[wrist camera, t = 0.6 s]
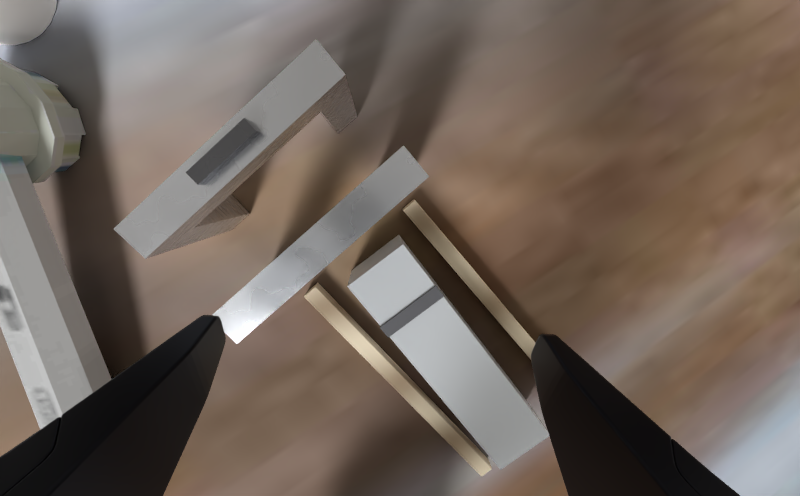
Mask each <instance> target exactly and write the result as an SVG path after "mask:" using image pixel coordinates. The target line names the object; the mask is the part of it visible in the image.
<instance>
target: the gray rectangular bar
mask: <svg viewBox="0 0 800 496" xmlns="http://www.w3.org/2000/svg"><path fill="white" fill-rule="evenodd" d="M347 287H348V288H349V289H350V290H351V291H352V293H353V294H354V295H355V296H356V297H357V299H358V300H359V301H360V302H361V303H362V305H363V306H364V307H365V308H366V309H367V311H368V312H369V313H370V314H371V315H372V317H373V318H374V319H375V320H376V321H377V323H378V324H379V325H380V328H381V330H382V331H383V332H384V333H385V334H386V336H387V337H388V338H389V337H390V338H391V339H392V340H393V342H394V343H395V344H396V345H397V346H398V348H399V349H400V350H401V351H402V352H403V354H404V355H405V356H406V357H407V358H408V360H409V361H410V362H411V363H412V364H413V366H414V367H415V368H416V369H417V370H418V372H419V373H420V374H421V375H422V376H423V378H424V379H425V380H426V381H427V382H428V384H429V385H430V386H431V387H432V388H433V390H434V391H435V392H436V393H437V394H438V396H439V397H440V398H441V399H442V400H443V402H444V403H445V404H446V405H447V406H448V408H449V409H450V410H451V411H452V412H453V414H454V415H455V416H456V417H457V418H458V420H459V421H460V422H461V423H462V424H463V425H464V427H465V428H466V429H467V430H468V431H469V433H470V434H471V435H472V436H473V437H474V439H475V440H476V441H477V442H478V443H479V445H480V446H481V447H482V448H483V449H484V451H485V452H486V453H487V454H488V455H489V457H490V458H491V459H492V460H493V461H494V463H495V464H496V465H497V466H498V467H499V469H500V470H501V469H502V468H504V467H505V466H507V465H508V464H510V463H511V462H512V461H514V460H515V459H517V458H518V457H520V456H521V455H523V454H524V453H525V452H527V451H528V450H530V449H531V448H533V447H534V446H536V445H537V444H538V443H540V442H541V441H543V440H544V439H546V438H547V437H548V436H549V433H548V431H547V429H546V428H545V427H544V425H543V424H542V422H541V421H540V419H539V418H538V416H537V415H536V414H535V412H534V411H533V409H532V408H531V406H530V405H529V403H528V402H527V400H526V399H525V398H524V397H523V395H522V394H521V393H520V391H519V390H518V389H517V387H516V386H515V385H514V384H513V382H512V381H511V380H510V378H509V377H508V376H507V374H506V373H505V372H504V371H503V369H502V368H501V367H500V365H499V364H498V363H497V361H496V360H495V359H494V358H493V356H492V355H491V354H490V352H489V351H488V350H487V348H486V347H485V346H484V345H483V343H482V342H481V341H480V339H479V338H478V337H477V335H476V334H475V333H474V332H473V330H472V329H471V328H470V326H469V325H468V324H467V322H466V321H465V320H464V319H463V317H462V316H461V315H460V313H459V312H458V311H457V309H456V308H455V307H454V306H453V304H452V303H451V302H450V300H449V299H448V298H447V296H446V295H445V294H444V292H443V291H442V290H441V289H440V287H439V286H438V285H437V283H436V282H435V281H434V279H433V278H432V277H431V276H430V274H429V273H428V272H427V270H426V269H425V268H424V266H423V265H422V264H421V263H420V261H419V260H418V259H417V257H416V256H415V255H414V253H413V252H412V251H411V250H410V248H409V247H408V246H407V244H406V243H405V242H404V240H403V239H402V238H401V237H400V235H397V236H396V237H395V238H394V239H392V240H391V241H390V242H388V243H387V244H386V245H384V246H383V247H382V248H380V249H379V250H378V251H376V252H375V253H374V254H373V255H371V256H370V257H369V258H367V259H366V260H365V261H363V262H362V263H361V264H359V265H358V266H357V267H355V268H354V269H353V270H352V271H351V275H350V279H349V282H348V286H347Z"/></svg>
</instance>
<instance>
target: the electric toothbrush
mask: <svg viewBox="0 0 800 496" xmlns="http://www.w3.org/2000/svg"><path fill="white" fill-rule="evenodd" d="M58 86H59V85H57V84H55V83H53V82H52V81H50V80H48V79H46V78H44V77H42V76H41V75H39V74H37V73H35V72H31V71H25V70H21V69H19V68H17V67H15V66H13V65H12V64H10V63H8V62H6V61H4V60H2V59H1V58H0V326H1V329H2V332H3V334H4V337H5V339H6V342H7V344H8V347H9V350H10V352H11V355H12V357H13V360H14V363H15V365H16V368H17V370H18V373H19V375H20V378H21V381H22V383H23V386H24V388H25V391H26V393H27V396H28V399H29V401H30V404H31V406H32V409H33V412H34V414H35V417H36V419H37V422H38V424H39V427H40V430H41V429H42V428H43V427H45V426H46V425H48V424H49V423H50V422H52V421H53V420H55V419H56V418H58V417H61V416H62V414H63V413H65V412H66V411H68V410H69V409H70V408H72V407H73V406H75V405H76V404H77V403H79V402H80V401H82V400H83V399H85V398H86V397H87V396H89V395H90V394H92V393H93V392H94V391H96V390H97V389H99V388H100V387H102V386H103V385H104V384H106V383H107V382H109V381H110V380H111V377H110V374H109V372H108V369H107V367H106V364H105V362H104V359H103V357H102V354H101V352H100V349H99V347H98V344H97V342H96V339H95V337H94V334H93V332H92V329H91V327H90V324H89V322H88V320H87V317H86V315H85V312H84V310H83V307H82V305H81V302H80V300H79V297H78V295H77V292H76V290H75V287H74V285H73V282H72V280H71V277H70V275H69V272H68V270H67V268H66V265H65V263H64V260H63V258H62V255H61V253H60V250H59V248H58V245H57V243H56V240H55V238H54V235H53V233H52V230H51V228H50V225H49V223H48V220H47V218H46V216H45V213H44V211H43V208H42V206H41V203H40V201H39V198H38V196H37V193H36V191H35V188H34V186H33V183H38V182H44V181H45V180H46V179H47V178H48V177H49V176H51V175H52V174H53V173H54V172H60V171H65V170H67V169H68V168H69V167H70V166H71V165H72V164H73V163H75V162H76V161H77V160H78V159H79V158H80V156H79V150H80V143H81V136H82V135H86V133H85V130H84V127H83V124H82V121H81V118H80V114H79V111H78V109H75V108H72V107H71V105H70V104H69V103H68V102H67V100H66V99H65V98H64V97H63V95H62V94H61V93H60V92H59V91H58V89H57V88H58Z"/></svg>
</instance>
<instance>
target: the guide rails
mask: <svg viewBox="0 0 800 496" xmlns="http://www.w3.org/2000/svg"><path fill="white" fill-rule="evenodd" d="M402 210H403V211H404V212H405V213H406V215H407V216H408V217H409V218H410V219H411V220H412V222H413V223H414V224H415V225H416V226H417V227H418V229H419V230H420V231H421V232H422V233H423V234H424V236H425V237H426V238H427V239H428V240H429V241H430V243H431V244H432V245H433V246H434V247H435V248H436V250H437V251H438V252H439V253H440V254H441V255H442V257H443V258H444V259H445V260H446V261H447V262H448V264H449V265H450V266H451V267H452V268H453V269H454V271H455V272H456V273H457V274H458V275H459V276H460V278H461V279H462V280H463V281H464V282H465V283H466V285H467V286H468V287H469V288H470V289H471V290H472V292H473V293H474V294H475V295H476V296H477V297H478V299H479V300H480V301H481V302H482V303H483V304H484V306H485V307H486V308H487V309H488V310H489V311H490V313H491V314H492V315H493V316H494V317H495V318H496V320H497V321H498V322H499V323H500V324H501V325H502V327H503V328H504V329H505V330H506V331H507V332H508V334H509V335H510V336H511V337H512V338H513V339H514V341H515V342H516V343H517V344H518V345H519V346H520V348H521V349H522V350H523V351H524V352H525V353H526V355H527V356H528V357H529V358H530V359H531V353H532V350H533V348H534V346H535V342H534V340H533V339H532V338H531V337H530V336H529V335H528V333H527V332H526V331H525V330H524V329H523V327H522V326H521V325H520V324H519V323H518V322H517V320H516V319H515V318H514V317H513V316H512V314H511V313H510V312H509V311H508V310H507V308H506V307H505V306H504V305H503V304H502V303H501V301H500V300H499V299H498V298H497V297H496V295H495V294H494V293H493V292H492V291H491V289H490V288H489V287H488V286H487V285H486V284H485V282H484V281H483V280H482V279H481V278H480V276H479V275H478V274H477V273H476V272H475V271H474V269H473V268H472V267H471V266H470V265H469V263H468V262H467V261H466V260H465V259H464V257H463V256H462V255H461V254H460V253H459V252H458V250H457V249H456V248H455V247H454V246H453V244H452V243H451V242H450V241H449V240H448V238H447V237H446V236H445V235H444V234H443V233H442V231H441V230H440V229H439V228H438V227H437V225H436V224H435V223H434V222H433V221H432V219H431V218H430V217H429V216H428V215H427V214H426V212H425V211H424V210H423V209H422V208H421V206H420V205H419V204H418V203H417V202H416V201H415V200H414V199H413V200H412V201H411V202H410V203H409V204H407V205H406V206H405V207H404V208H403V209H402ZM304 297H305V298H306V299H307V300H308V301H309V302H310V303H311V304H312V305H313V307H314V308H315V309H316V310H317V311H318V312H319V313H320V314H321V315H322V316H323V317H324V318H325V319H326V320H327V321H328V322H329V323H330V324H331V325H332V326H333V327H334V328H335V329H336V330H337V331H338V332H339V333H340V334H341V335H342V336H343V337H344V338H345V339H346V340H347V341H348V342H349V343H350V344H351V345H352V346H353V347H354V348H355V349H356V350H357V351H358V352H359V353H360V354H361V355H362V356H363V357H364V358H365V359H366V360H367V361H368V362H369V363H370V364H371V365H372V366H373V367H374V368H375V369H376V370H377V371H378V372H379V373H380V374H381V375H382V376H383V377H384V378H385V379H386V380H387V381H388V382H389V383H390V384H391V385H392V386H393V388H394V389H395V390H396V391H397V392H398V393H399V394H400V395H401V396H402V397H403V398H404V399H405V400H406V401H407V402H408V403H409V404H410V405H411V406H412V407H413V408H414V409H415V410H416V411H417V412H418V413H419V414H420V415H421V416H422V417H423V418H424V419H425V420H426V421H427V422H428V423H429V424H430V425H431V426H432V427H433V428H434V429H435V430H436V431H437V432H438V433H439V434H440V435H441V436H442V437H443V438H444V439H445V440H446V441H447V442H448V443H449V444H450V445H451V446H452V447H453V448H454V449H455V450H456V451H457V452H458V453H459V454H460V455H461V456H462V457H463V458H464V459H465V460H466V461H467V462H468V463H469V464H470V465H471V466H472V467H473V468H474V470H475V471H476V472H477V473H478V474H479V475H480V476H481V477H482V476H483V475H485V474H486V473H487V472H488V471H490V470H491V469H492V467H491V465H490V462H489V460H488V458H487V457H486V456H485V455H484V454H483V453H482V452H481V451H480V450H479V449H478V448H477V447H476V446H475V445H474V443H473V442H472V441H471V440H470V439H469V438H468V437H467V436H466V435H465V434H464V433H463V432H462V431H461V430H460V429H459V428H458V427H457V426H456V425H455V424H454V423H453V422H452V421H451V420H450V419H449V418H448V417H447V416H446V415H445V414H444V412H443V411H442V410H441V409H440V408H439V407H438V406H437V405H436V404H435V403H434V402H433V401H432V400H431V399H430V398H429V397H428V396H427V395H426V394H425V393H424V392H423V391H422V390H421V389H420V388H419V387H418V386H417V385H416V384H415V382H414V381H413V380H412V379H411V378H410V377H409V376H408V375H407V374H406V373H405V372H404V371H403V370H402V369H401V368H400V367H399V366H398V365H397V364H396V363H395V362H394V361H393V360H392V359H391V358H390V357H389V356H388V355H387V354H386V352H385V351H384V350H383V349H382V348H381V347H380V346H379V345H378V344H377V343H376V342H375V341H374V340H373V339H372V338H371V337H370V336H369V335H368V334H367V333H366V332H365V331H364V330H363V329H362V328H361V327H360V326H359V325H358V324H357V322H356V321H355V320H354V319H353V318H352V317H351V316H350V315H349V314H348V313H347V312H346V311H345V310H344V309H343V308H342V307H341V306H340V305H339V304H338V303H337V302H336V301H335V300H334V299H333V298H332V297H331V296H330V295H329V294H328V292H327V291H326V290H325V289H324V288H323V287H322V286H321V285H320V284H319V283H317V284H316V285H314V286H313V287H312V288H311V289H310V290H309V291H307V293H306V294H305V296H304Z"/></svg>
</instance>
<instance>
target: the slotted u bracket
mask: <svg viewBox="0 0 800 496" xmlns="http://www.w3.org/2000/svg"><path fill="white" fill-rule="evenodd" d="M319 113H321V114H322V115H323V117H324V118H325V119H326V120H327V121H328V122H329V124H330V125H331V126H332V127H333V128H334V129H335V131H336V132H337V133H338V134H339V133H340V132H341V131H342V130H343V129H344V128H345V127H346V126H347V125H349V124H350V123H351V122H352V121H353V120H354V119H355V118H356V117H357V114H356V110H355V106H354V103H353V99H352V96H351V92H350V89H349V85H348V81H347V78H346V74H345V73H344V72H343V71H342V70H341V68H340V67H339V66H338V65H337V63H336V62H335V61H334V60H333V59H332V57H331V56H330V55H329V54H328V53H327V51H326V50H325V49H324V48H323V46H322V45H321V44H320V43H319V42H318V40H317V39H316V40H315V41H313V42H312V43H311V44H310V45H309V46H308V47H307V48H306V49H305V50H304V51H303V52H302V53H301V54H300V55H299V56H297V57H296V58H295V59H294V60H293V61H292V62H291V63H290V64H289V65H288V66H287V67H286V68H285V69H284V70H282V71H281V72H280V73H279V74H278V75H277V76H276V77H275V78H274V79H273V80H272V81H271V82H270V83H269V84H268V85H266V86H265V87H264V88H263V89H262V90H261V91H260V92H259V93H258V94H257V95H256V96H255V97H254V98H253V99H252V100H250V101H249V102H248V103H247V104H246V105H245V106H244V107H243V108H242V109H241V110H240V111H239V112H238V113H237V114H236V115H234V116H233V117H232V118H231V119H230V120H229V121H228V122H227V123H226V124H225V125H224V126H223V127H222V128H221V129H220V130H218V131H217V132H216V133H215V134H214V135H213V136H212V137H211V138H210V139H209V140H208V141H207V142H206V143H205V144H204V145H202V146H201V147H200V148H199V149H198V150H197V151H196V152H195V153H194V154H193V155H192V156H191V157H190V158H189V159H188V160H186V161H185V162H184V163H183V164H182V165H181V166H180V167H179V168H178V169H177V170H176V171H175V172H174V173H173V174H172V175H170V176H169V177H168V178H167V179H166V180H165V181H164V182H163V183H162V184H161V185H160V186H159V187H158V188H157V189H156V190H154V191H153V192H152V193H151V194H150V195H149V196H148V197H147V198H146V199H145V200H144V201H143V202H142V203H141V204H139V205H138V206H137V207H136V208H135V209H134V210H133V211H132V212H131V213H130V214H129V215H128V216H127V217H126V218H125V219H123V220H122V221H121V222H120V223H119V224H118V225H117V226H116V227H115V228H114V230H115V231H116V232H117V233H118V234H119V235H120V236H121V237H122V238H124V239H125V240H126V241H127V242H128V243H129V244H130V245H131V246H132V247H133V248H134V249H135V250H136V251H138V252H139V253H140V254H141V255H142V256H143V257H144V258H145V259H146V258H149V257H152V256H155V255H158V254H161V253H164V252H167V251H170V250H173V249H176V248H179V247H182V246H185V245H188V244H191V243H194V242H197V241H200V240H203V239H206V238H209V237H212V236H215V235H218V234H221V233H224V232H227V231H230V230H233V229H234V228H235V227H236V226H237V225H238V224H239V223H240V222H241V221H243V220H244V219H245V218H246V217H247V216H248V215H249V214H250V213H249V212H248V211H247V210H246V209H245V208H244V207H243V206H242V205H241V204H240V203H239V202H238V201H237V199H236V198H235V197H234V196H233V195H230V194H231V193H232V192H234V191H235V190H236V189H237V188H238V187H239V186H240V185H241V184H242V183H243V182H244V181H246V180H247V179H248V178H249V177H250V176H251V175H252V174H253V173H254V172H255V171H257V170H258V169H259V168H260V167H261V166H262V165H263V164H264V163H265V162H266V161H267V160H269V159H270V158H271V157H272V156H273V155H274V154H275V153H276V152H277V151H278V150H279V149H281V148H282V147H283V146H284V145H285V144H286V143H287V142H288V141H289V140H290V139H291V138H293V137H294V136H295V135H296V134H297V133H298V132H299V131H300V130H301V129H302V128H303V127H305V126H306V125H307V124H308V123H309V122H310V121H311V120H312V119H313V118H314V117H315V116H317V115H318V114H319ZM428 177H429V176H428V175H427V173H426V172H425V171H424V170H423V168H422V167H421V166H420V165H419V164H418V162H417V161H416V160H415V159H414V157H413V156H412V155H411V154H410V153H409V151H408V150H407V149H406V148H405V146H404V145H403V146H402V147H401V148H400V149H399V150H398V151H397V152H396V153H394V154H393V155H392V156H391V157H390V158H389V159H388V160H386V161H385V162H384V163H383V164H382V165H381V166H380V167H379V168H377V169H376V170H375V171H374V172H373V173H372V174H371V175H370V176H368V177H367V178H366V179H365V180H364V181H363V182H362V183H361V184H359V185H358V186H357V187H356V188H355V189H354V190H353V191H352V192H350V193H349V194H348V195H347V196H346V197H345V198H344V199H343V200H341V201H340V202H339V203H338V204H337V205H336V206H335V207H333V208H332V209H331V210H330V211H329V212H328V213H327V214H326V215H324V216H323V217H322V218H321V219H320V220H319V221H318V222H317V223H315V224H314V225H313V226H312V227H311V228H310V229H309V230H308V231H306V232H305V233H304V234H303V235H302V236H301V237H300V238H299V239H297V240H296V241H295V242H294V243H293V244H292V245H291V246H289V247H288V248H287V249H286V250H285V251H284V252H283V253H282V254H280V255H279V256H278V257H277V258H276V259H275V260H274V261H273V262H271V263H270V264H269V265H268V266H267V267H266V268H265V269H264V270H262V271H261V272H260V273H259V274H258V275H257V276H256V277H255V278H253V279H252V280H251V281H250V282H249V283H248V284H247V285H245V286H244V287H243V288H242V289H241V290H240V291H239V292H238V293H236V294H235V295H234V296H233V297H232V298H231V299H230V300H229V301H227V302H226V303H225V304H224V305H223V306H222V307H221V308H220V309H218V310H217V311H216V312H215V313H214V314H213V315H215V316H219V317H220V319H221V321H222V325H223V329H224V332H225V333H226V334H227V335H228V336H229V337H230V338H231V339H232V340H233V341H234V342H235V343H237V344H238V343H239V342H240V341H241V340H242V339H243V338H244V337H246V336H247V335H248V334H249V333H250V332H251V331H253V330H254V329H255V328H256V327H257V326H258V325H259V324H261V323H262V322H263V321H264V320H265V319H266V318H267V317H269V316H270V315H271V314H272V313H273V312H274V311H275V310H277V309H278V308H279V307H280V306H281V305H282V304H283V303H285V302H286V301H287V300H288V299H289V298H290V297H291V296H293V295H294V294H295V293H296V292H297V291H298V290H300V289H301V288H302V287H303V286H304V285H305V284H306V283H308V282H309V281H310V280H311V279H312V278H313V277H314V276H316V275H317V274H318V273H319V272H320V271H321V270H322V269H324V268H325V267H326V266H327V265H328V264H329V263H330V262H332V261H333V260H334V259H335V258H336V257H337V256H339V255H340V254H341V253H342V252H343V251H344V250H345V249H347V248H348V247H349V246H350V245H351V244H352V243H353V242H355V241H356V240H357V239H358V238H359V237H360V236H361V235H363V234H364V233H365V232H366V231H367V230H368V229H369V228H371V227H372V226H373V225H374V224H375V223H376V222H377V221H379V220H380V219H381V218H382V217H383V216H384V215H386V214H387V213H388V212H389V211H390V210H391V209H392V208H394V207H395V206H396V205H397V204H398V203H399V202H400V201H402V200H403V199H404V198H405V197H406V196H407V195H408V194H410V193H411V192H412V191H413V190H414V189H415V188H416V187H418V186H419V185H420V184H421V183H422V182H423V181H424V180H426V179H427V178H428Z"/></svg>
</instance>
